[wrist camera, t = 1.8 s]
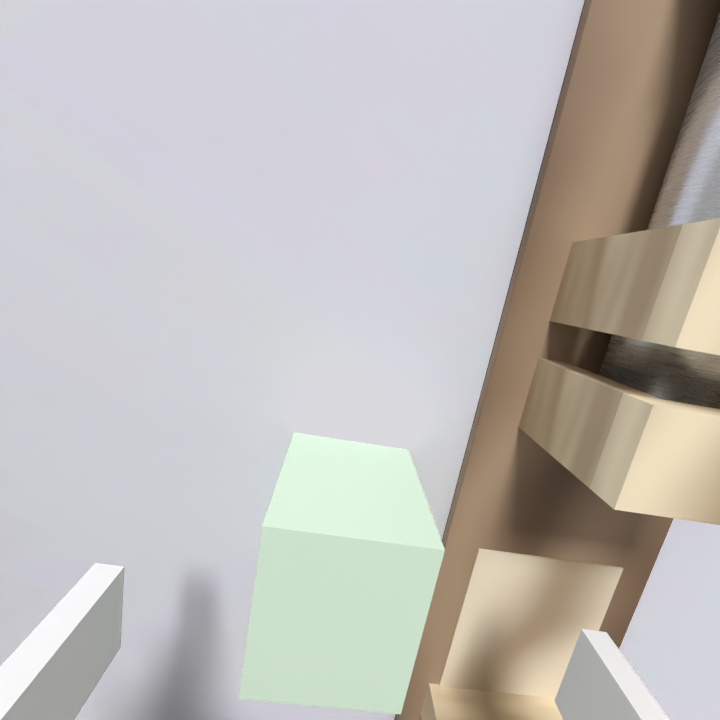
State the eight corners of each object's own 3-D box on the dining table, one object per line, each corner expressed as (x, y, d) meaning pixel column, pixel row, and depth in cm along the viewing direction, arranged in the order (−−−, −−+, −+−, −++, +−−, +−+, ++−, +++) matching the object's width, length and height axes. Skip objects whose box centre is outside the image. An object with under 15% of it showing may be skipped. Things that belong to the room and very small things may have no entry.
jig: (390, 735, 19) (420, 1047, 11) (639, -203, 11) (1351, -1377, 3) (565, 751, 20) (705, 1053, 12) (921, -117, 12) (2058, -901, 4)
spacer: (276, 550, 17) (238, 699, 11) (294, 431, 15) (261, 525, 9) (382, 564, 17) (400, 714, 11) (408, 449, 16) (445, 550, 10)
